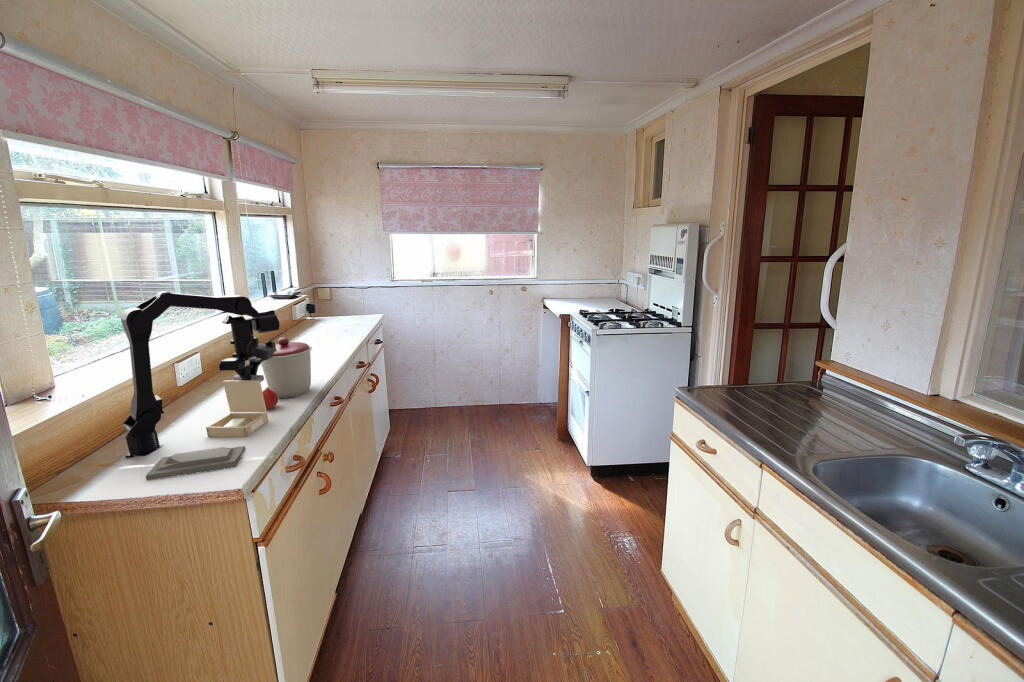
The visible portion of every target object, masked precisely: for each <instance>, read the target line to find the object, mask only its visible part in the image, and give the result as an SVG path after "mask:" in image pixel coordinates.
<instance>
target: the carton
mask: <svg viewBox="0 0 1024 682" xmlns="http://www.w3.org/2000/svg"><path fill="white" fill-rule="evenodd" d="M240 418H246V421H247V425H246V426H245V427H224V426H225V425H226V424H227V423H228V422H230V421H231V420H232V419H240ZM268 422H269V418H268V413H267V412H229V413H227V414H226V415H225V416H222V417H221V418H220V419H218V420H216V421H214V422H212V423H211V424H210V425H208V426H206V427H205V429H206V434H207V437H216V438H217V437H220V438H221V437H222V438H223V437H224V438H225V437H229V438H230V437H231V438H232V437H236V438H237V437H239V438H242V437H243V438H245V437H249V436H250V435H251V434H252V433H254V432H255V431H257V430H258V429H260V428H261V427H263V426H264V425H265V424H267V423H268Z"/></svg>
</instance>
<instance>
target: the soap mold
mask: <svg viewBox="0 0 1024 682" xmlns="http://www.w3.org/2000/svg"><path fill="white" fill-rule="evenodd" d="M245 450H246V447H245V445H242V446H235V447H225V446H222V447H215V448H207V449H200V450H194V451H193V450H192V451H188V452H187V451H185V452H179V453H174V454H173V455H170V456H164V457H161V458H160V460H159V461H158V462H157V463H156V464H155V465H154V466H153V467H152V468H151V469H150V470H149V471H148V473H146V474H145V481H146V480H147V481H152V480H158V479H159V478H160V479H164V478H172V476H173V477H178V476H177V475H180V476H185V474H187V475H193V474H198V473H197V472H200V473H205V472H204V471H206V472H212V471H211V470H213V471H217V470H219V469H220V470H224V468H226V469H232V468H231V467H233V468H237V467H238V465H239V464H240V462H241V460H242V458H241V457H242V455H243V454H244V452H245ZM240 459H241V460H240ZM239 461H240V462H239ZM192 473H193V474H192Z"/></svg>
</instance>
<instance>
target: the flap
mask: <svg viewBox="0 0 1024 682" xmlns="http://www.w3.org/2000/svg"><path fill="white" fill-rule="evenodd" d="M232 378H233V379H232V380H223V381H222V384H223V387H224V388H223V389H224V392H225V395H226V399H227V404H228V408H229V413H267V412H268V411H267V410H268V409H266V406H265V402H264V397H263V388H262V384H261V383H262V382H263V381H265V375H264V374H257V375H251V380H242V378H241V377H240V376H239V375H238V374H235V375H233V377H232Z"/></svg>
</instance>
